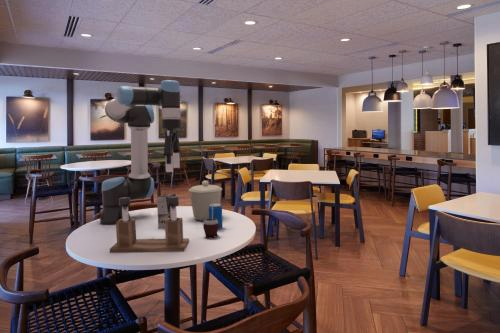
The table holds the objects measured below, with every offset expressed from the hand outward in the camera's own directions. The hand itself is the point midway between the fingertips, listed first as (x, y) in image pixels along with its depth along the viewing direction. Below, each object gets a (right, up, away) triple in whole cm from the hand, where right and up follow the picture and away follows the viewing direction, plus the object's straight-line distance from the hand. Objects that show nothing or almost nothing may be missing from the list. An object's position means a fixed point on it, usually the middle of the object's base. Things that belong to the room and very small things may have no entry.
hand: (173, 169), depth 147 cm
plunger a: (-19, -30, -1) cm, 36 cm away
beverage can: (+16, -30, +25) cm, 42 cm away
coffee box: (-9, -29, +31) cm, 43 cm away
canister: (+8, -27, +45) cm, 53 cm away
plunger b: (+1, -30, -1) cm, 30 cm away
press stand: (-9, -32, 0) cm, 34 cm away
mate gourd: (+15, -31, +13) cm, 36 cm away
